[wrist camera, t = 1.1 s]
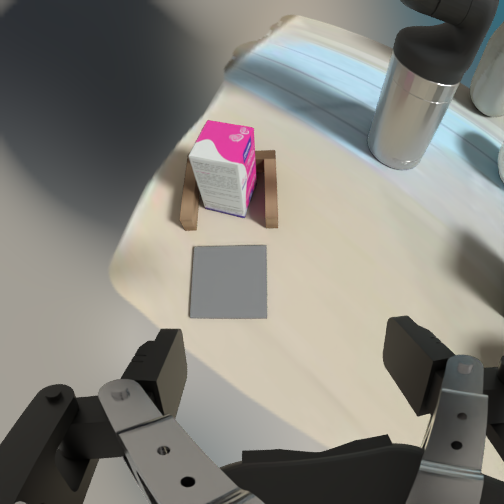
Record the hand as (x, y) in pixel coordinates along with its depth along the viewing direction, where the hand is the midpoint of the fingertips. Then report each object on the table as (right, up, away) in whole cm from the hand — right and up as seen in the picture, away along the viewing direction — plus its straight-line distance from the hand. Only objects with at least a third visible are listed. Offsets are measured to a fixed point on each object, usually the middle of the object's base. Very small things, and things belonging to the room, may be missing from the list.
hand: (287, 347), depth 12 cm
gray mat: (-4, 0, +27) cm, 28 cm away
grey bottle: (+47, +33, +38) cm, 69 cm away
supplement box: (-4, +11, +32) cm, 34 cm away
